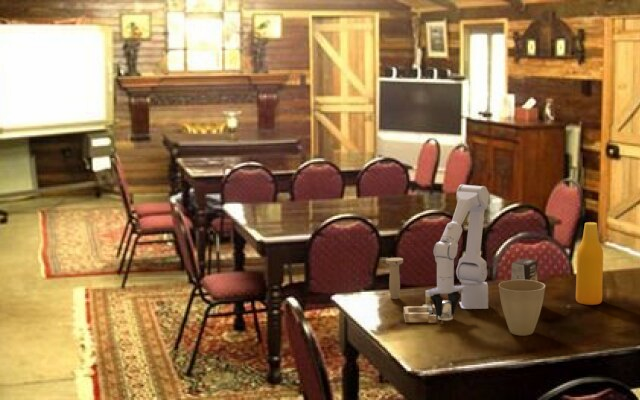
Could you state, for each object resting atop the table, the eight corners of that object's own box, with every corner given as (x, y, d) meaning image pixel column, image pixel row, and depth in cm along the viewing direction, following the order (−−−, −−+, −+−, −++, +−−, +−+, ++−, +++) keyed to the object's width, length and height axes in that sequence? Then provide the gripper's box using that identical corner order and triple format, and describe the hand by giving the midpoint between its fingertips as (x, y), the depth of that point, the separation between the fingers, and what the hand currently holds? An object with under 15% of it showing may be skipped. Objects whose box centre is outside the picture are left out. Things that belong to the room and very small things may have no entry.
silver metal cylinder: (452, 316, 325) (452, 299, 324) (453, 321, 320) (453, 304, 319) (437, 316, 325) (437, 300, 324) (438, 321, 320) (438, 304, 319)
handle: (404, 299, 348) (404, 260, 345) (388, 300, 346) (387, 261, 344) (401, 295, 352) (400, 257, 350) (384, 297, 351) (384, 258, 348)
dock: (435, 310, 332) (435, 302, 332) (438, 322, 318) (438, 314, 318) (402, 311, 332) (402, 303, 332) (405, 322, 319) (405, 314, 318)
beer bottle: (574, 303, 337) (576, 225, 332) (577, 297, 345) (579, 220, 341) (600, 306, 333) (603, 226, 329) (603, 299, 342) (605, 221, 337)
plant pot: (527, 323, 315) (528, 277, 313) (553, 335, 301) (554, 287, 299) (489, 328, 310) (489, 282, 307) (513, 341, 296) (514, 293, 294)
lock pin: (429, 305, 337) (429, 292, 336) (432, 313, 326) (432, 301, 325) (425, 305, 337) (425, 292, 336) (428, 313, 326) (428, 301, 325)
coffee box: (526, 309, 332) (527, 264, 329) (510, 306, 336) (510, 262, 333) (537, 303, 339) (538, 259, 336) (521, 300, 343) (521, 257, 340)
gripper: (457, 271, 326) (457, 308, 328) (421, 275, 321) (421, 314, 323) (468, 275, 320) (468, 313, 322) (431, 280, 314) (431, 319, 317)
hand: (445, 314), depth 322 cm, fingers closed on silver metal cylinder, 4 cm apart
